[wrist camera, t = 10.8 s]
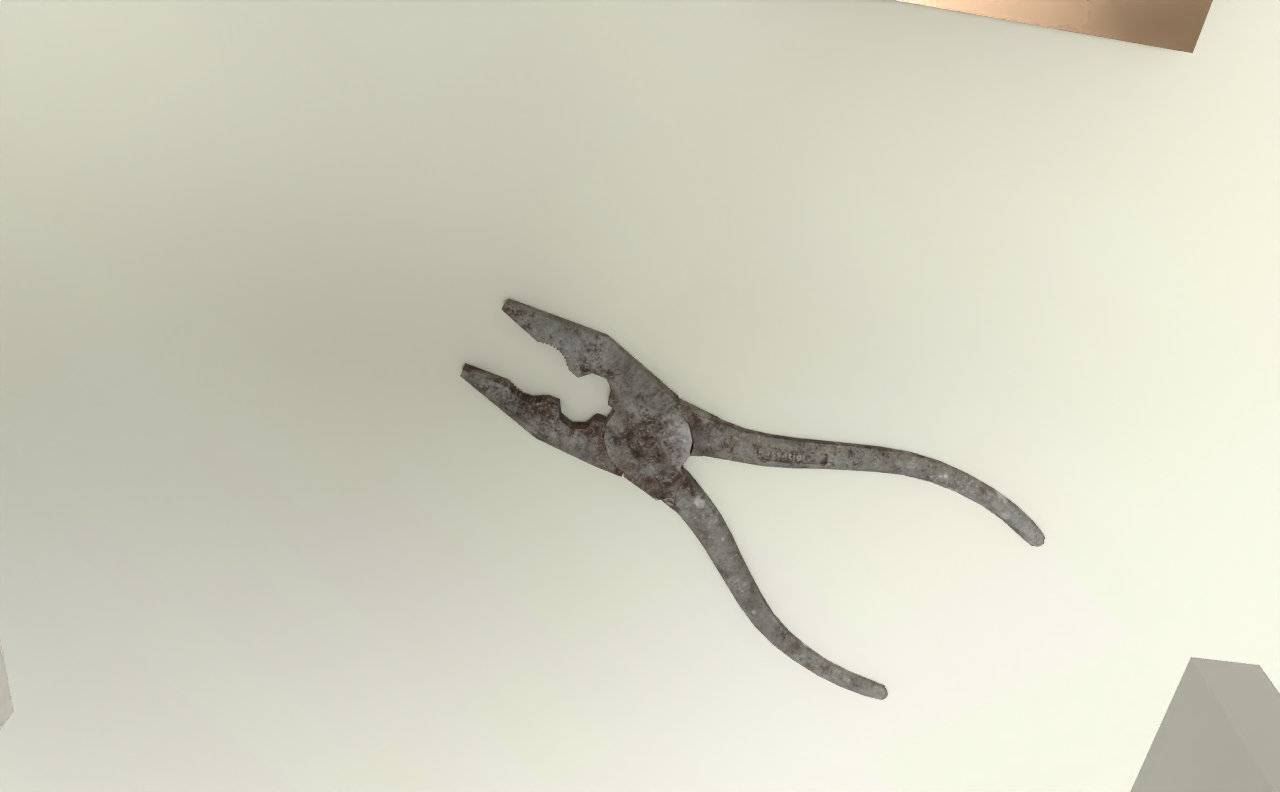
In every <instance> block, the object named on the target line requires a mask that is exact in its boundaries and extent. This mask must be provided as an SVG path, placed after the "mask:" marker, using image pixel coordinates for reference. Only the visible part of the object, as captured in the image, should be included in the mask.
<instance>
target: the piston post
mask: <svg viewBox="0 0 1280 792" xmlns="http://www.w3.org/2000/svg"><path fill="white" fill-rule="evenodd" d="M898 1H903V2H909V3H914V4H920V5H926V6H931V7H937V8H943V9H948V10H954V11H959V12H965V13H971V14H976V15H982V16H987V17H993V18H999V19H1004V20H1010V21H1016V22H1021V23H1027V24H1032V25H1038V26H1044V27H1049V28H1055V29H1060V30H1066V31H1072V32H1077V33H1083V34H1089V35H1094V36H1100V37H1105V38H1111V39H1117V40H1122V41H1128V42H1133V43H1139V44H1145V45H1150V46H1156V47H1162V48H1167V49H1173V50H1178V51H1184V52H1190V53H1193V51H1194V48H1195V45H1196V43H1197V40H1198V37H1199V35H1200V32H1201V29H1202V27H1203V24H1204V22H1205V19H1206V16H1207V14H1208V11H1209V8H1210V6H1211V3H1212V1H1213V0H898Z"/></svg>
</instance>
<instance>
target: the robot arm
mask: <svg viewBox="0 0 1280 792" xmlns="http://www.w3.org/2000/svg"><path fill="white" fill-rule="evenodd" d="M12 713H13V707H12V701H11V696H10V690H9V685H8V679H7V674H6V668H5V663H4V658H3V652H2V647H1V641H0V729H1V727H2V726H3V725H4V723H5V722H6V721H7V720H8V718H9V717H10V716H11V714H12ZM1131 792H1280V694H1279V692H1278V691H1277V689H1276V688H1275V686H1274V685H1273V684H1272V682H1271V681H1270V679H1269V678H1268V677H1267V675H1266V674H1265V672H1264V671H1263V669H1262V668H1261V667H1260V665H1253V664H1245V663H1236V662H1228V661H1219V660H1210V659H1202V658H1193V657H1191V659H1190V661H1189V663H1188V665H1187V667H1186V670H1185V672H1184V674H1183V676H1182V678H1181V681H1180V683H1179V685H1178V687H1177V690H1176V692H1175V694H1174V696H1173V698H1172V701H1171V703H1170V705H1169V707H1168V710H1167V712H1166V714H1165V716H1164V718H1163V721H1162V723H1161V725H1160V727H1159V730H1158V732H1157V734H1156V736H1155V738H1154V741H1153V743H1152V745H1151V747H1150V749H1149V752H1148V754H1147V756H1146V758H1145V761H1144V763H1143V765H1142V767H1141V769H1140V772H1139V774H1138V776H1137V778H1136V781H1135V783H1134V785H1133V787H1132V789H1131Z"/></svg>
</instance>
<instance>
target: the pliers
mask: <svg viewBox="0 0 1280 792" xmlns="http://www.w3.org/2000/svg"><path fill="white" fill-rule="evenodd" d="M502 310H503V311H504V312H505V313H506V314H507V315H508V316H510V317H511V318H512V319H513V320H514V321H515V322H516V323H517V324H518V325H520V326H521V327H522V328H523V329H524V330H525V331H526V332H527V333H529V334H530V335H531V336H532V337H533V338H534V339H535V340H536V341H538V342H542V343H546V344H550V346H552V345H553V347H554V348H555V347H557V350H560V352H561V353H562V355H564V356H565V357H564V358H565V359H566V362H567V366H569V370H570V371H571V372H572V373H573V374H575V375H576V376H577V377H578V378H579V377H582V376H585V375H588V374H591V373H594V374H596V375H599V376H601V377H604V378H606V379H607V380H608V383H609V385H610V387H611V389H612V391H611V393H610V396H609V401H608V405H609V406H610V407H612V408H613V410H612V412H611V413H610V414H609V416H608V417H606V416H603V415H600V414H598V413H597V414H596V415H595V416H593V417H592V418H591V419H590V420H588V421H587V422H571V421H570V420H569V419H568V418H567V417H566V416H565V415H563V414H562V413H561V406H560V399H558V398H555V397H553V396H550V395H546V396H545V395H543V396H542V397H541V396H540V395H539V396H538V397H537V396H533V395H531V396H530V395H529V394H527V395H526V394H525V393H522V391H519V389H516V386H514V384H513V383H511V381H510V380H508V379H505V378H503V377H500V376H497V375H495V374H492V373H489V372H487V371H484V370H481V369H479V368H476V367H473V366H471V365H468V364H466V363H465V366H464V368H463V370H462V373H461V375H460V376H461V377H462V378H463V379H465V380H466V381H467V382H468V383H470V384H471V385H472V386H473V387H474V388H476V389H477V390H478V391H479V392H480V393H482V394H483V395H484V396H485V397H487V398H488V399H489V400H490V401H491V402H493V403H494V404H495V405H496V406H498V407H499V408H500V409H501V410H502V411H504V412H505V413H506V414H507V415H508V416H510V417H511V418H512V419H513V420H515V421H516V422H517V423H518V424H519V425H521V426H522V427H523V428H524V429H526V430H527V431H528V432H529V433H530V434H532V435H533V436H534V437H535V438H537V439H539V440H541V441H543V442H545V443H547V444H549V445H552V446H554V447H556V448H558V449H560V450H562V451H564V452H566V453H568V454H570V455H573V456H575V457H577V458H579V459H581V460H583V461H585V462H587V463H589V464H591V465H594V466H596V467H598V468H601V469H603V470H606V471H608V472H611V473H613V474H616V475H618V476H622V475H623V473H624V477H625V478H626V479H628V480H629V481H630V482H632V483H633V484H635V485H636V486H637V487H639V488H640V489H642V490H643V491H644V492H646V493H647V494H649V495H650V496H651V497H653V498H654V499H656V500H660V499H661V500H662V501H663V502H665V503H666V504H667V505H668V506H670V507H671V508H672V509H673V510H675V511H676V512H677V513H678V514H679V515H680V516H681V517H682V518H683V520H684V521H685V522H686V523H687V525H688V526H689V527H690V528H691V530H692V531H693V532H694V534H695V535H696V537H697V538H698V539H699V541H700V542H701V544H702V545H703V547H704V548H705V550H706V551H707V553H708V555H709V556H710V558H711V560H712V561H713V563H714V564H715V566H716V568H717V569H718V571H719V573H720V574H721V576H722V578H723V579H724V581H725V582H726V584H727V586H728V587H729V589H730V591H731V592H732V594H733V595H734V597H735V599H736V600H737V602H738V604H739V605H740V607H741V608H742V610H743V611H744V612H745V614H746V615H747V616H748V618H749V619H750V620H751V622H752V623H753V624H754V626H755V627H756V628H757V629H758V630H759V631H760V632H761V633H762V634H763V635H764V636H765V637H766V638H767V639H768V640H769V641H770V642H771V643H772V644H773V645H774V646H776V647H777V648H778V649H780V650H781V651H782V652H784V653H785V654H786V655H788V656H789V657H790V658H792V659H793V660H794V661H796V662H797V663H799V664H801V665H802V666H804V667H805V668H807V669H808V670H810V671H812V672H813V673H815V674H816V675H818V676H820V677H822V678H824V679H826V680H828V681H830V682H832V683H834V684H836V685H838V686H840V687H843V688H846V689H848V690H851V691H853V692H856V693H859V694H861V695H864V696H868V697H872V698H876V699H881V700H883V699H885V698H886V697H887V695H888V694H887V690H886V688H885V686H884V685H882V684H879V683H877V682H874V681H872V680H870V679H867V678H865V677H862V676H860V675H857V674H854V673H852V672H849V671H847V670H845V669H843V668H841V667H840V666H838V665H836V664H834V663H832V662H830V661H828V660H826V659H825V658H823V657H822V656H820V655H819V654H818V653H816V652H815V651H813V650H812V649H810V648H809V647H807V646H806V645H805V644H804V643H802V642H801V641H800V640H799V639H798V638H797V637H795V636H794V635H793V634H792V633H791V632H789V631H788V630H787V628H786V627H785V626H784V625H783V624H782V623H781V622H780V620H779V619H778V618H777V617H776V616H775V615H774V614H773V612H772V611H771V609H770V607H769V606H768V604H767V603H766V601H765V599H764V598H763V596H762V594H761V592H760V591H759V589H758V587H757V585H756V583H755V581H754V579H753V578H752V576H751V574H750V572H749V570H748V568H747V566H746V564H745V562H744V560H743V558H742V556H741V554H740V552H739V549H738V547H737V545H736V543H735V541H734V538H733V536H732V534H731V532H730V531H729V529H728V527H727V525H726V523H725V521H724V520H723V518H722V516H721V514H720V513H719V511H718V510H717V508H716V507H715V506H714V504H713V503H712V501H711V500H710V499H709V497H708V496H707V494H706V493H705V492H704V490H703V489H702V488H701V487H700V486H699V484H698V483H697V482H696V481H695V479H694V478H693V477H692V476H691V474H690V473H689V472H688V471H687V470H685V469H684V468H683V466H682V465H683V464H684V462H685V461H686V459H687V458H688V457H689V454H690V456H709V457H714V458H720V459H725V460H731V461H736V462H742V463H748V464H754V465H760V466H769V467H784V468H814V469H838V470H856V471H871V472H882V473H891V474H900V475H905V476H909V477H913V478H917V479H922V480H926V481H930V482H932V483H935V484H938V485H940V486H943V487H945V488H948V489H950V490H953V491H955V492H957V493H959V494H961V495H963V496H965V497H967V498H969V499H971V500H973V501H975V502H977V503H979V504H981V505H982V506H984V507H985V508H986V509H988V510H989V511H991V512H992V513H994V514H995V515H996V516H998V517H999V518H1001V519H1002V520H1003V521H1004V522H1005V523H1007V524H1008V525H1009V526H1010V527H1011V528H1012V529H1013V530H1014V531H1015V532H1016V533H1017V534H1019V535H1020V536H1021V537H1022V538H1023V539H1024V540H1026V541H1027V542H1028V543H1029V544H1030V545H1031V546H1041V545H1043V544H1044V539H1045V537H1044V535H1043V533H1042V532H1041V531H1040V529H1039V528H1038V527H1037V526H1036V524H1035V523H1034V522H1033V521H1032V520H1031V519H1030V518H1029V517H1028V516H1027V515H1026V514H1025V513H1024V512H1023V511H1021V510H1020V509H1019V508H1018V507H1017V506H1016V505H1015V504H1014V503H1012V502H1011V501H1010V500H1008V499H1007V498H1005V497H1004V496H1003V495H1001V494H1000V493H999V492H997V491H996V490H995V489H993V488H991V487H990V486H988V485H986V484H984V483H983V482H981V481H979V480H977V479H976V478H974V477H972V476H970V475H969V474H967V473H965V472H962V471H960V470H958V469H956V468H954V467H951V466H949V465H947V464H945V463H943V462H940V461H937V460H934V459H931V458H928V457H925V456H921V455H918V454H915V453H912V452H907V451H901V450H896V449H890V448H885V447H878V446H869V445H859V444H850V443H840V442H830V441H820V440H810V439H800V438H792V437H785V436H778V435H771V434H766V433H762V432H757V431H752V430H748V429H744V428H741V427H739V426H736V425H734V424H731V423H728V422H726V421H723V420H721V419H719V418H718V417H716V416H714V415H712V414H710V413H708V412H706V411H704V410H702V409H700V408H698V407H696V406H694V405H692V404H689V403H687V402H685V401H683V400H681V399H679V398H678V396H677V395H676V394H675V393H674V392H673V391H672V390H670V389H669V388H668V387H667V386H666V385H665V384H663V383H662V382H661V381H660V380H659V379H658V378H657V377H655V376H654V375H653V374H652V373H651V372H650V371H649V370H647V369H646V368H645V367H644V366H643V365H642V364H640V363H639V362H638V361H637V360H636V359H635V358H634V357H632V356H631V355H630V354H629V353H628V352H627V351H625V350H624V349H623V348H622V347H621V346H620V345H619V344H617V343H616V342H615V341H614V340H613V339H612V338H610V337H609V336H608V335H606V334H604V333H601V332H598V331H595V330H593V329H590V328H587V327H584V326H582V325H579V324H576V323H574V322H571V321H568V320H565V319H563V318H560V317H557V316H555V315H552V314H549V313H546V312H544V311H541V310H538V309H535V308H533V307H530V306H527V305H525V304H522V303H519V302H516V301H514V300H511V299H508V300H507V301H506V302H505V303H504V305H503V307H502ZM606 422H607V423H606ZM605 428H606V429H605ZM692 436H693V443H692ZM691 445H692V446H691Z"/></svg>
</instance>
